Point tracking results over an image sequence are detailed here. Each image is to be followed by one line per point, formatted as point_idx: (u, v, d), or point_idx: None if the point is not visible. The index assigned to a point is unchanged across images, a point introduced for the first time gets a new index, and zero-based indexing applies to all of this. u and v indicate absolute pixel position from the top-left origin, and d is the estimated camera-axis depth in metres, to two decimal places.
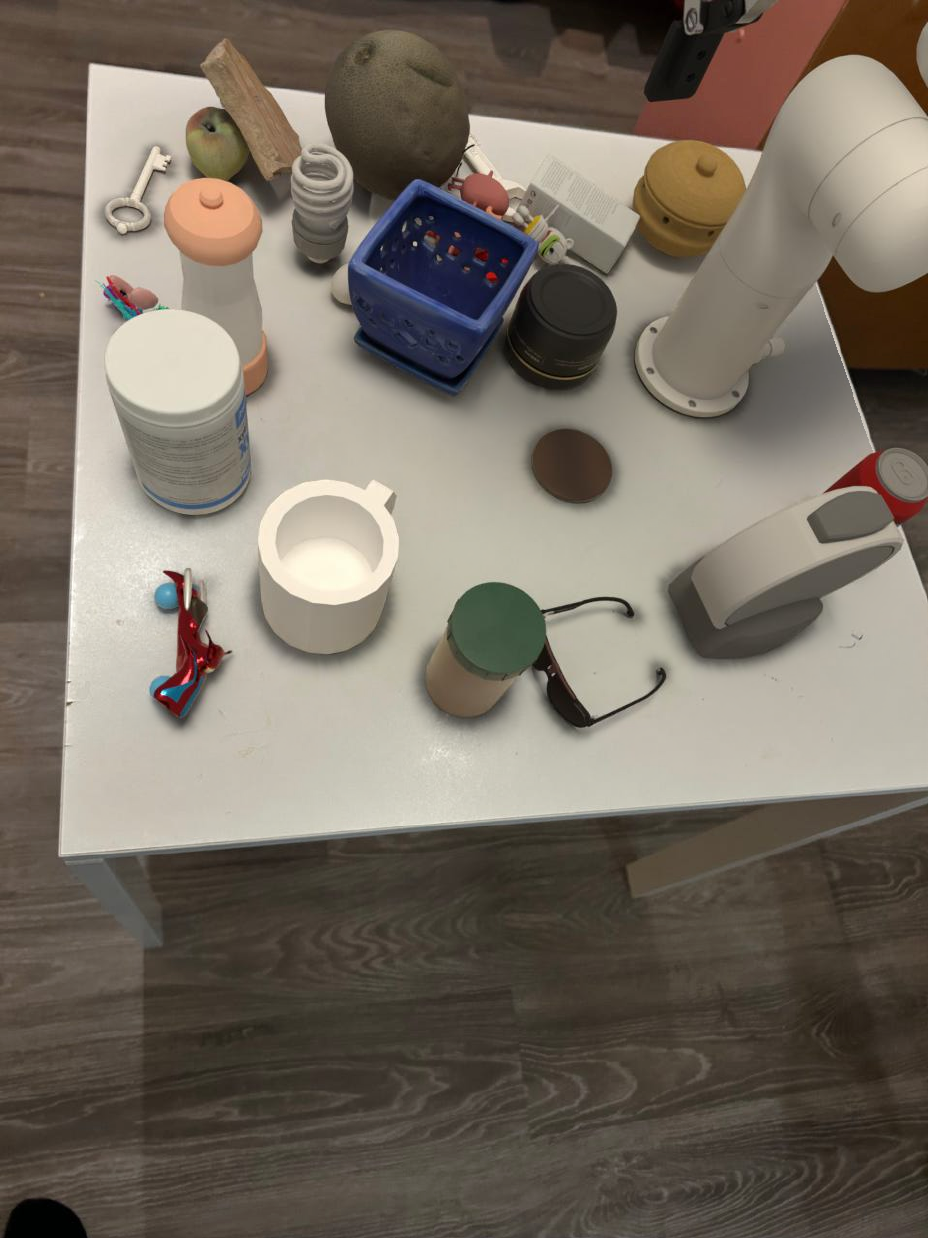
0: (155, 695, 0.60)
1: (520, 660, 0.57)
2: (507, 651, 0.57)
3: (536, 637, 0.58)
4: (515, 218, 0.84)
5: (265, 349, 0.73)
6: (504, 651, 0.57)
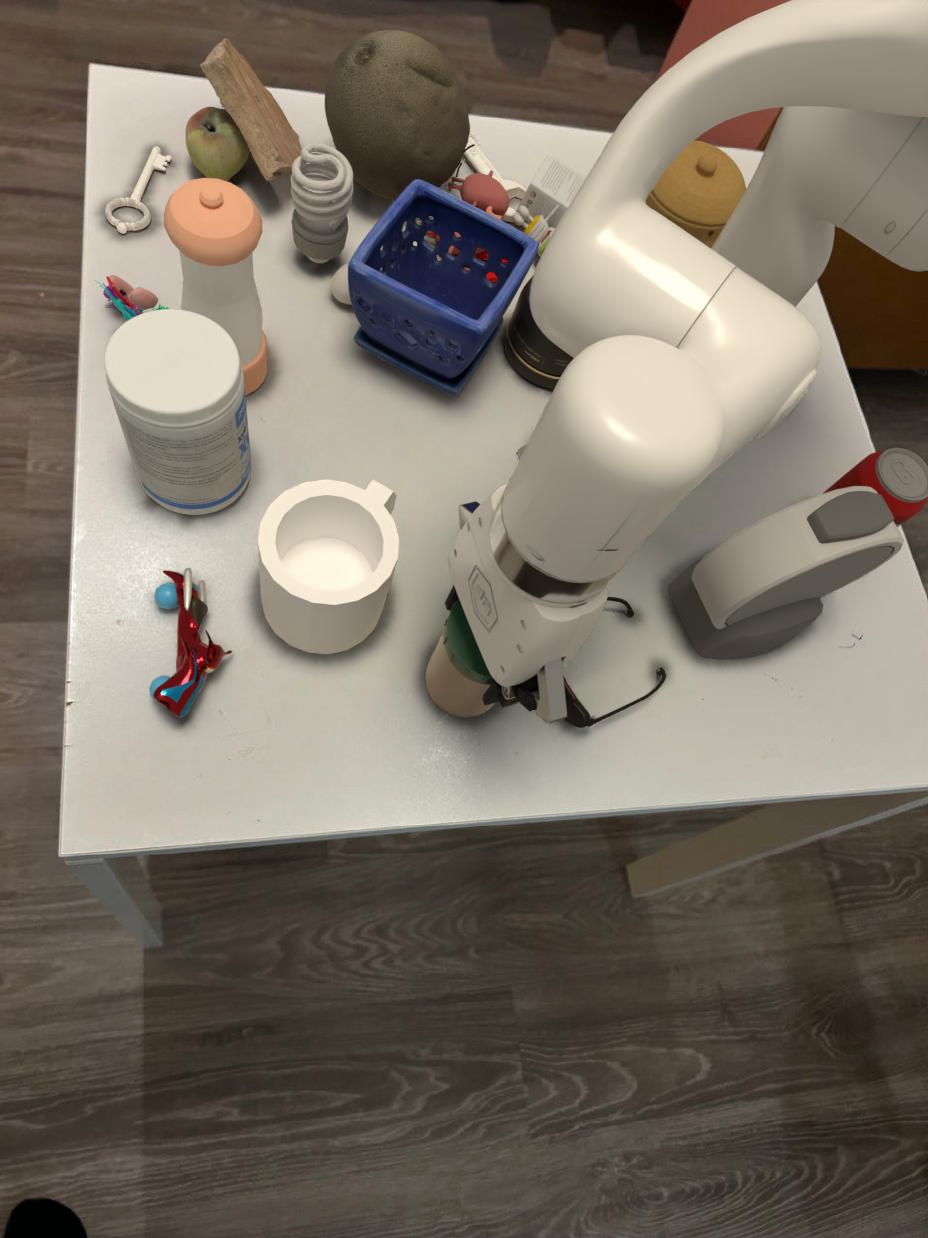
0: (155, 695, 0.60)
1: None
2: None
3: None
4: (515, 218, 0.84)
5: (265, 349, 0.73)
6: None
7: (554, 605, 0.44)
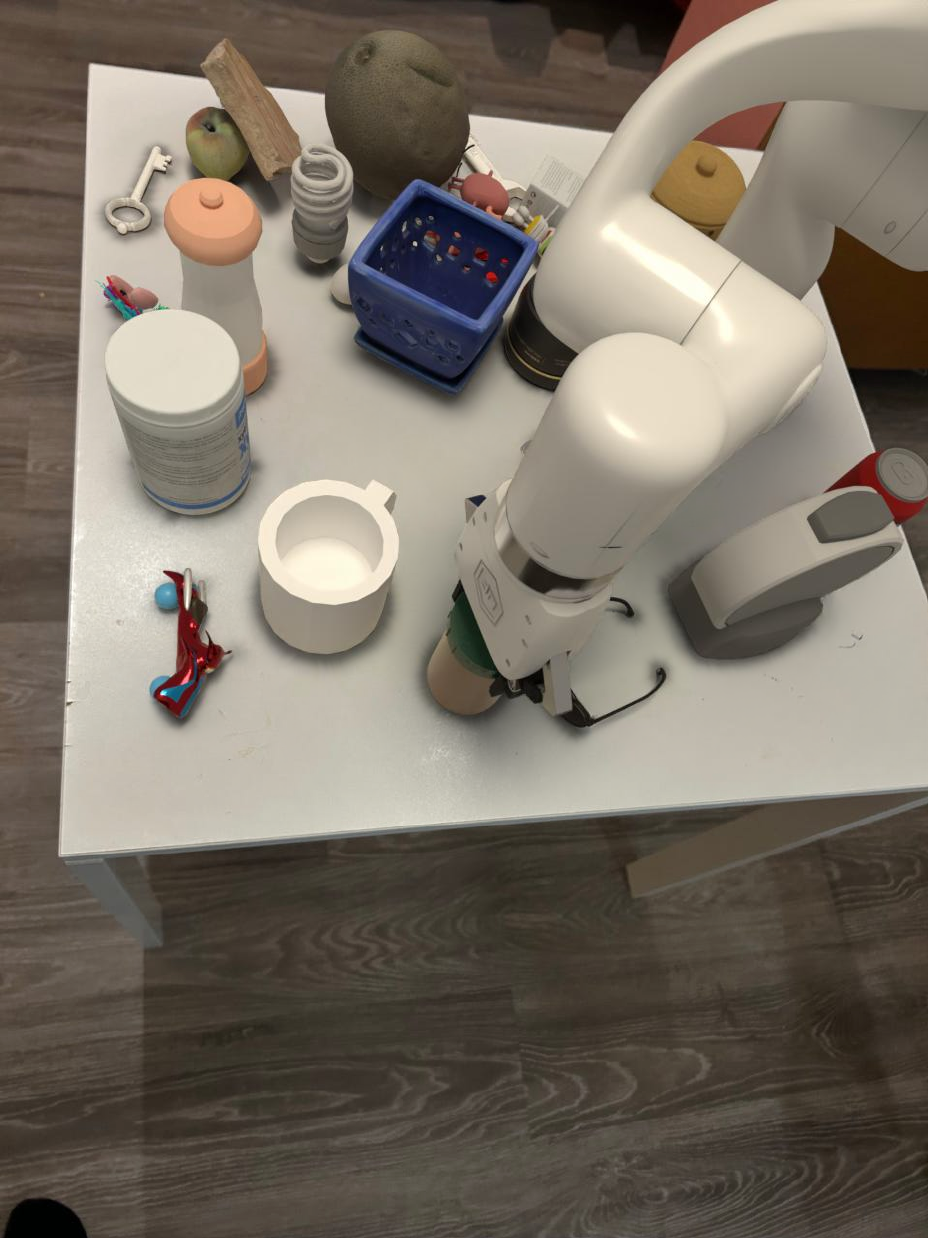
0: (155, 695, 0.60)
1: None
2: None
3: (461, 611, 0.57)
4: (515, 218, 0.84)
5: (265, 349, 0.73)
6: None
7: (559, 600, 0.44)
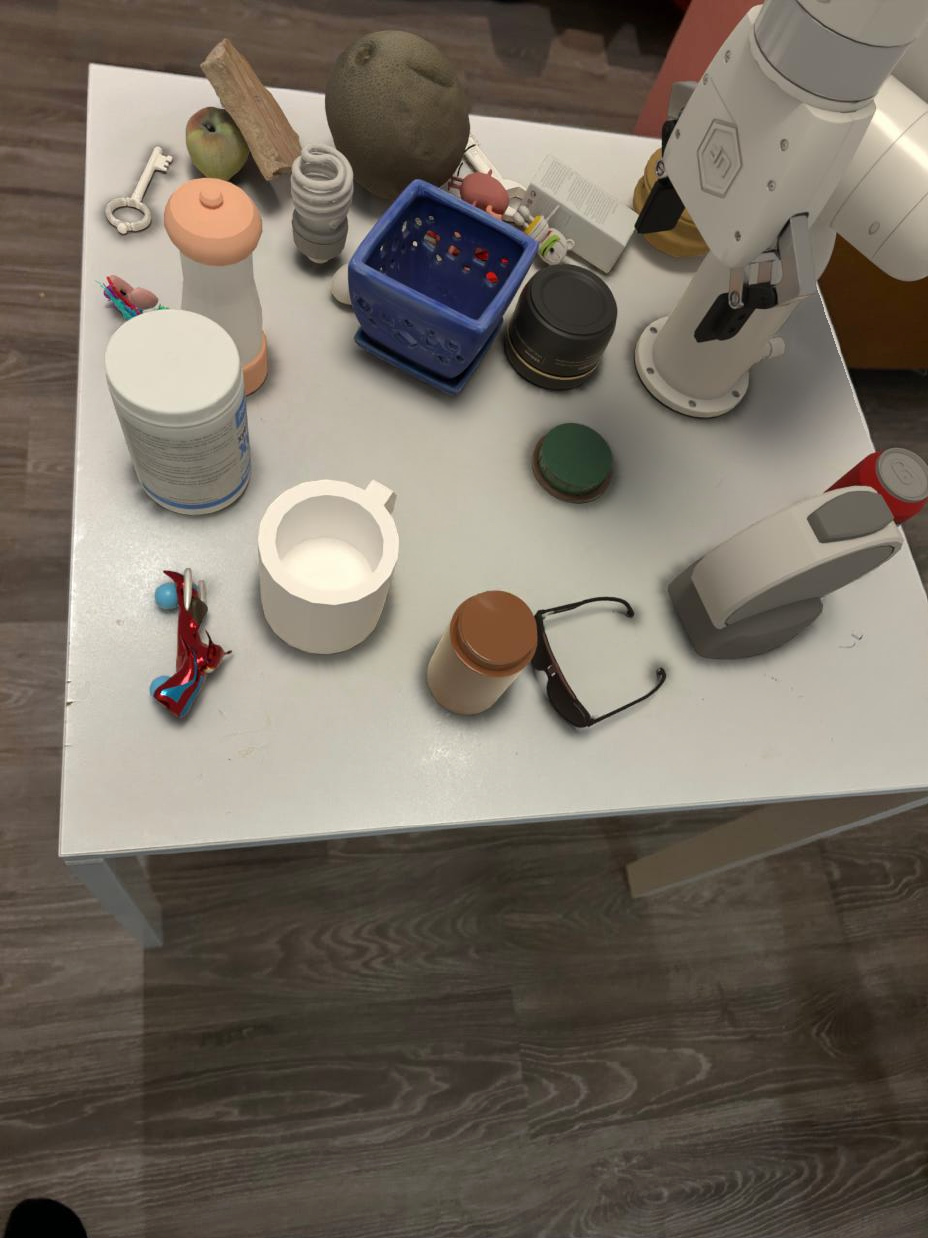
0: (155, 695, 0.60)
1: (562, 429, 0.78)
2: (572, 436, 0.78)
3: (550, 443, 0.77)
4: (515, 217, 0.84)
5: (265, 349, 0.73)
6: (574, 436, 0.78)
7: (827, 104, 0.42)
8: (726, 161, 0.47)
